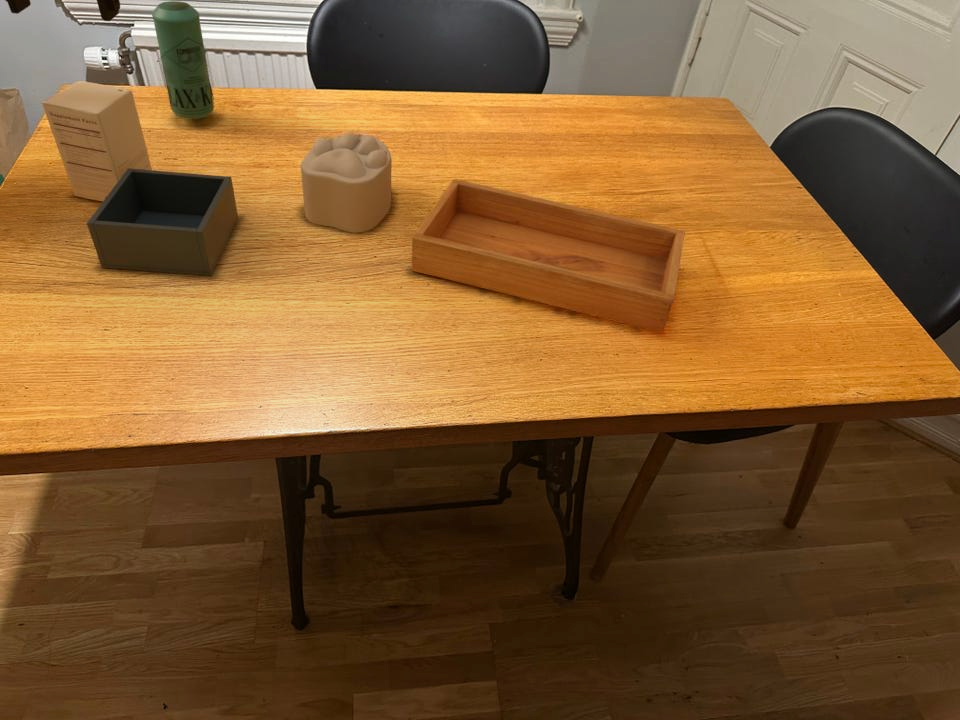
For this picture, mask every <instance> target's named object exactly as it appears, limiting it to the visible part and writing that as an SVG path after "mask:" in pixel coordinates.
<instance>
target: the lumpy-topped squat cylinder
mask: <svg viewBox="0 0 960 720" xmlns="http://www.w3.org/2000/svg"><path fill="white" fill-rule="evenodd" d="M392 166H393V165H392V155H391V152H390V149H389V147H388V146H387V144H385V142H383V141H382V140H381V139H379V138H378V137H376V136H374V135H369V134H361V133H354V132H347V133H344V134H343V135H338V136H334V137H329V138H326V137H319V138H317V139H316V140H315V141H314V143H313V145H312V148H311V150H310V151H309V152H308V153H307V154H306V155H305V156H304V157H303V159H302V160H301V163H300V173H301V186H302V196H303V197H302V199H303V209H304V217H305V218H306V220H307V221H308V222H309V223H312V224H314V225H318V226H325V227H332V228H335V229H339V230H342V231H344V232H349V233H355V234H358V233H359V234H360V233H364V232H369V231H370V230H372V229H374V228H376V227H377V226H378V224H380V223H381V222H382V221H383V219H384V218H385V217H386V215H387V214H388V212H389V211H390V209H391V206H392V168H393V167H392Z"/></svg>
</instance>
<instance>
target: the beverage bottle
mask: <svg viewBox="0 0 960 720" xmlns="http://www.w3.org/2000/svg"><path fill="white" fill-rule="evenodd" d="M151 18H152V20H153V24H154V29H155V34H156V39H157V45H158V49H159V56H160V58H159V61H160V62H161V67H162V73H163V74H162V75H163V79H164V82H165V83H164V85H165V87H166V89H165V91H166V92H167V97H168V99H167V100H168V101H169V106H170V107H169V108H170V109H171V111H172V113H173V114H174V115H175V116H176V117H179V118H182V119H191V120H194V119H202V118H205V117H209V116H210V115H212V114H213V112H214V109H215V106H216V105H215V103H214V101H215V98H214V93H213V92H214V91H213V87H212V83H211V81H212V80H211V79H210V76H211V75H210V72H209V71H210V70H209V64H208V62H209V61H208V60H207V55H206V52H207V49H206V46H205V45H204V39H203V32H202V25H201V20H200V13H199V11H198V10H197V9H196V8H194V7H193V6H192V5H191V4H189V3H188V2H184V1H180V0H168V1H163V2H161V3H158V5H157V6H156V7H155V8H154V9H153V11H152V12H151Z"/></svg>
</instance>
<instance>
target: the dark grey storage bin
mask: <svg viewBox="0 0 960 720" xmlns="http://www.w3.org/2000/svg"><path fill="white" fill-rule="evenodd" d="M238 220H239V215H238V209H237V202H236V197H235V191H234V185H233V180H232V176H227V175H214V174H204V173H203V174H201V173H190V172H178V171H177V172H176V171H165V170H153V169H152V170H142V169H130V168H128V169H127V171H126V172H125V173H124V175H123V176H122V177H121V179H120V180H119V181H118V182H117V184H116V185H115V186H114V188H113V189H112V190H111V192H110V193H109V194H108V196H107V197H106V198H105V200H104V201H103V202H102V201H101V203H100V205H99V206H98V207H97V209H96V210H95V212H93V214H92V215H91V216H90V218H89V219H88V221H87V222H86V225H87V229H88V231H89V234H90V238H91V240H92V244H93V247H94V249H95V252H96V255H97V258H98V261H99V264H100V267H101V268H102V269H114V270H115V269H116V270H127V271H128V270H129V271H143V272H155V273H166V274H167V273H170V274H180V275H181V274H184V275H196V276H210V277H211V276H212V275H213V273H214V271H215V269H216V267H217V265H218V263H219V260H220V259H221V256H222V254H223V252H224V250H225V247H226V246H227V243H228V241H229V239H230V237H231V235H232V233H233V230H234V229H235V227H236V225H237V222H238Z"/></svg>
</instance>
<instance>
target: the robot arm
mask: <svg viewBox="0 0 960 720" xmlns="http://www.w3.org/2000/svg"><path fill="white" fill-rule="evenodd" d="M4 1H5V2H6V3H7V5H8V8H9V10H10V12H11V13H12V14H17V15H18V14H20V13H22V12H23V11H24V10H26V9H27V8H29V7H30V6H31V5H32V3H31V0H4ZM96 3H97V6H98V10H99V14H100V18H101V19H102V20H103V21H104V22H111V21H112V20H114V18H115V17H117V16H118V15H119V13H120V10H121V1H120V0H96Z"/></svg>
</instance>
